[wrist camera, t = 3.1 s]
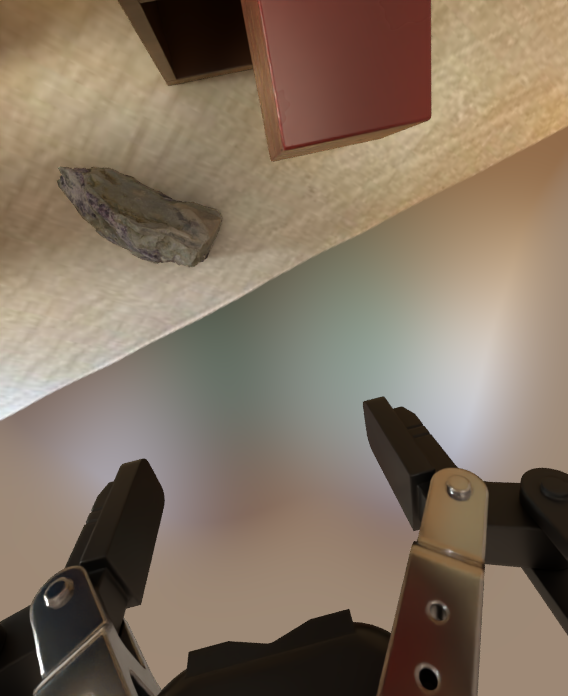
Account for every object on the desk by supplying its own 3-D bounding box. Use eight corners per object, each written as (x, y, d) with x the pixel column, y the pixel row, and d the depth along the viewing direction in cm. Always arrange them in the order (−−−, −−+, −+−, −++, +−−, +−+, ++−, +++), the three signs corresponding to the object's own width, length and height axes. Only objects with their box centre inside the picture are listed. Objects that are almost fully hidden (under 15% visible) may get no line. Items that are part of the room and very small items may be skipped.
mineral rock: (63, 184, 32) (-4, 180, 23) (150, 112, 31) (115, 77, 22) (158, 292, 37) (134, 323, 28) (236, 234, 36) (237, 247, 27)
